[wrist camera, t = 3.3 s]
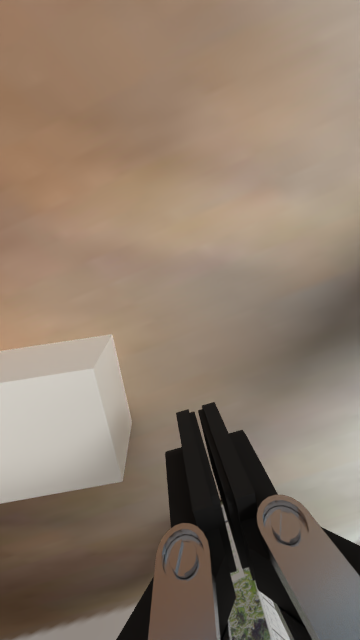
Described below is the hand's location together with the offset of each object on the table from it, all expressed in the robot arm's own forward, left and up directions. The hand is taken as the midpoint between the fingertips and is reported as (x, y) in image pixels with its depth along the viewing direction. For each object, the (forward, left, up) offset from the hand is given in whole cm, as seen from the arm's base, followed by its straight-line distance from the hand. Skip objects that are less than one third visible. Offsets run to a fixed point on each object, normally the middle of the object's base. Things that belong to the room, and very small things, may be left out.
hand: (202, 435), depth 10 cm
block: (+9, 0, -7) cm, 12 cm away
